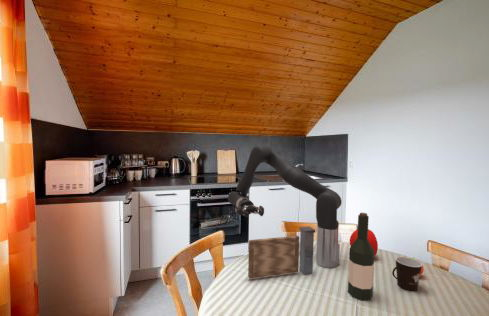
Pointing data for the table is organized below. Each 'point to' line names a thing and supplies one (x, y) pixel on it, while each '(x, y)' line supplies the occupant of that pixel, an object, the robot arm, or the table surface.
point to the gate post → (306, 250)
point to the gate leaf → (273, 256)
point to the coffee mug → (407, 273)
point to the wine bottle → (361, 263)
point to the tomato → (371, 239)
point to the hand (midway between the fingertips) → (254, 214)
